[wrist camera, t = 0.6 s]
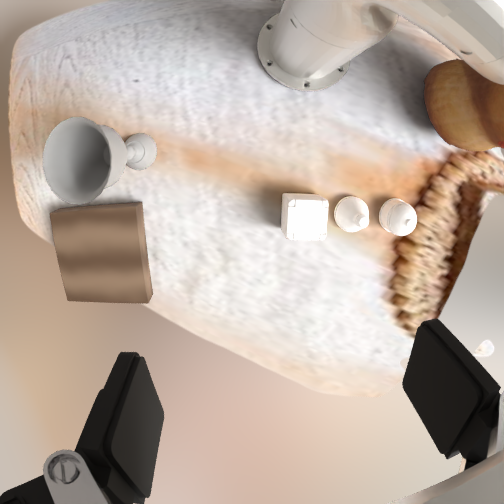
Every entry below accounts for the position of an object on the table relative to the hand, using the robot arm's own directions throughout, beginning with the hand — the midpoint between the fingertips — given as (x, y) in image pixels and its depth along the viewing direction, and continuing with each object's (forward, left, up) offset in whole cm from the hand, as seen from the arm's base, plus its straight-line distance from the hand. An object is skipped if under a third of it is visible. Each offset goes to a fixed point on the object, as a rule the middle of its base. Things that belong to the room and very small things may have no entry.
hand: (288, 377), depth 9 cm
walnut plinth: (+7, -21, -33) cm, 40 cm away
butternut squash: (-16, +31, -33) cm, 48 cm away
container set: (+2, +15, -34) cm, 37 cm away
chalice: (-7, -14, -33) cm, 37 cm away
